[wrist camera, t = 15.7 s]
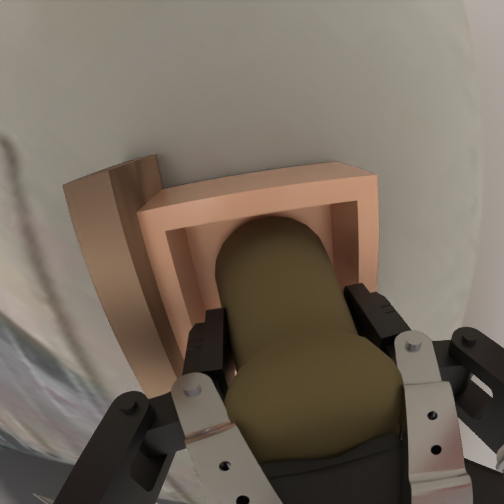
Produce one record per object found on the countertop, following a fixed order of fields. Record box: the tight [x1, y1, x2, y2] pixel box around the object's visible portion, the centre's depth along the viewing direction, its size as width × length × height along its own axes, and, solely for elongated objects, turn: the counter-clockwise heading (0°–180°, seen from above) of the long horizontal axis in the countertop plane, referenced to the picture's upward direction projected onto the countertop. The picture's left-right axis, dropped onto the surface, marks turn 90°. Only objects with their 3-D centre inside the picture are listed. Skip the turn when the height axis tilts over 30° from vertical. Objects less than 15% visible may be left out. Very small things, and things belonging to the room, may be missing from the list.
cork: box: [215, 216, 404, 468], centre depth 11 cm, size 6×6×11 cm
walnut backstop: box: [63, 154, 184, 399], centre depth 15 cm, size 14×2×7 cm, turn 9°
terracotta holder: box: [136, 162, 379, 375], centre depth 16 cm, size 10×10×5 cm
